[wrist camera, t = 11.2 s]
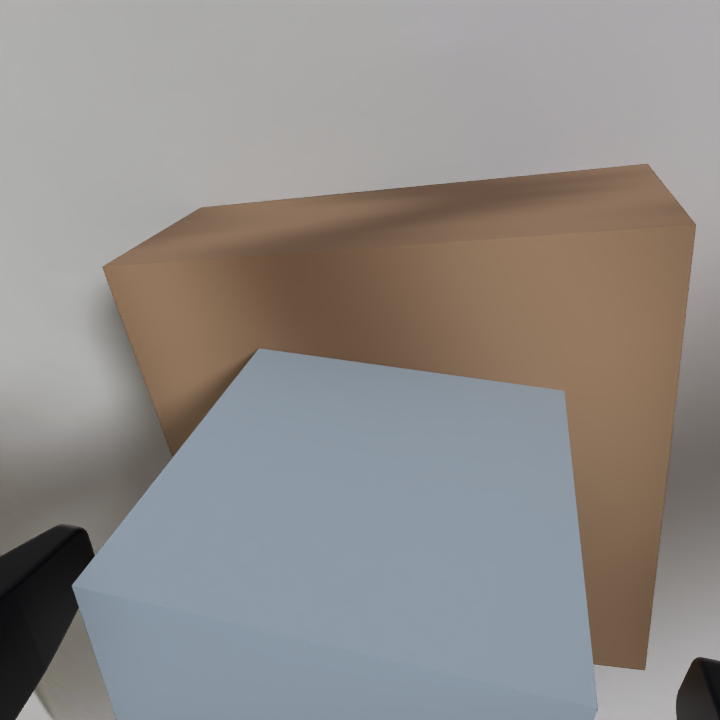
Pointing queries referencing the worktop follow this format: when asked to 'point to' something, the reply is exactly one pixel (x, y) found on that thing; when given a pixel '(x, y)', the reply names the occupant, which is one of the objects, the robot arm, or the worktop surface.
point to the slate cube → (351, 556)
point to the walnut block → (453, 325)
